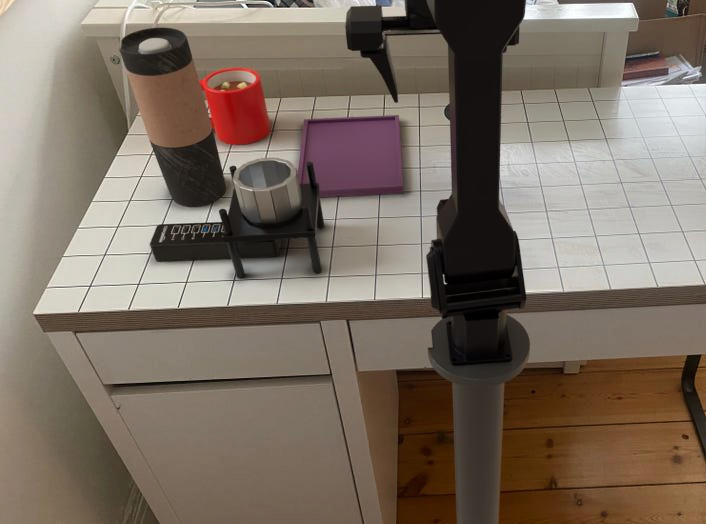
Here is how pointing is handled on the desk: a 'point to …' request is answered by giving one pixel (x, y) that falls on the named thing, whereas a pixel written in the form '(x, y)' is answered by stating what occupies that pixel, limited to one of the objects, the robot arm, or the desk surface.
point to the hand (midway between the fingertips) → (435, 99)
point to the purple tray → (353, 155)
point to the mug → (236, 105)
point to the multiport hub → (203, 243)
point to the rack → (295, 227)
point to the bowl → (268, 190)
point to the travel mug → (174, 114)
